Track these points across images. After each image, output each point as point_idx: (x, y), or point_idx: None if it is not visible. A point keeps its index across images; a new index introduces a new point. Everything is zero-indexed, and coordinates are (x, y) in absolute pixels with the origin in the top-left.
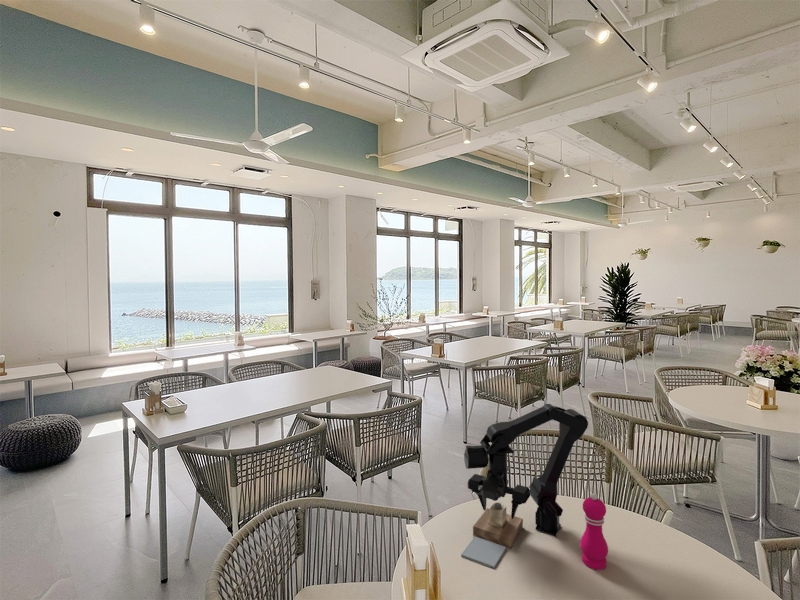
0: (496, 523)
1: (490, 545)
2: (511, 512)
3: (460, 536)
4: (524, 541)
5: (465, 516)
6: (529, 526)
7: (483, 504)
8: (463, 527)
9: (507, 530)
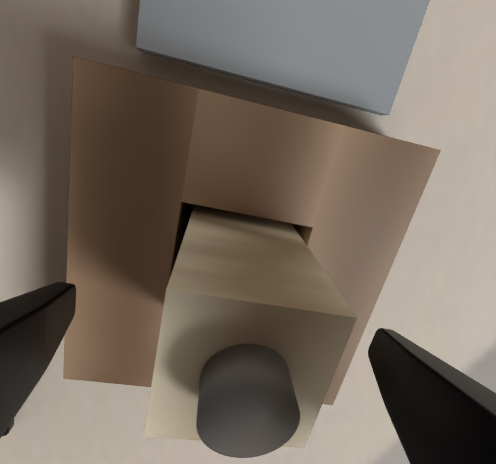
0: (243, 231)
1: (262, 23)
2: (16, 323)
3: (480, 103)
4: (38, 194)
5: (438, 322)
6: (58, 354)
7: (439, 373)
8: (454, 213)
9: (136, 186)
